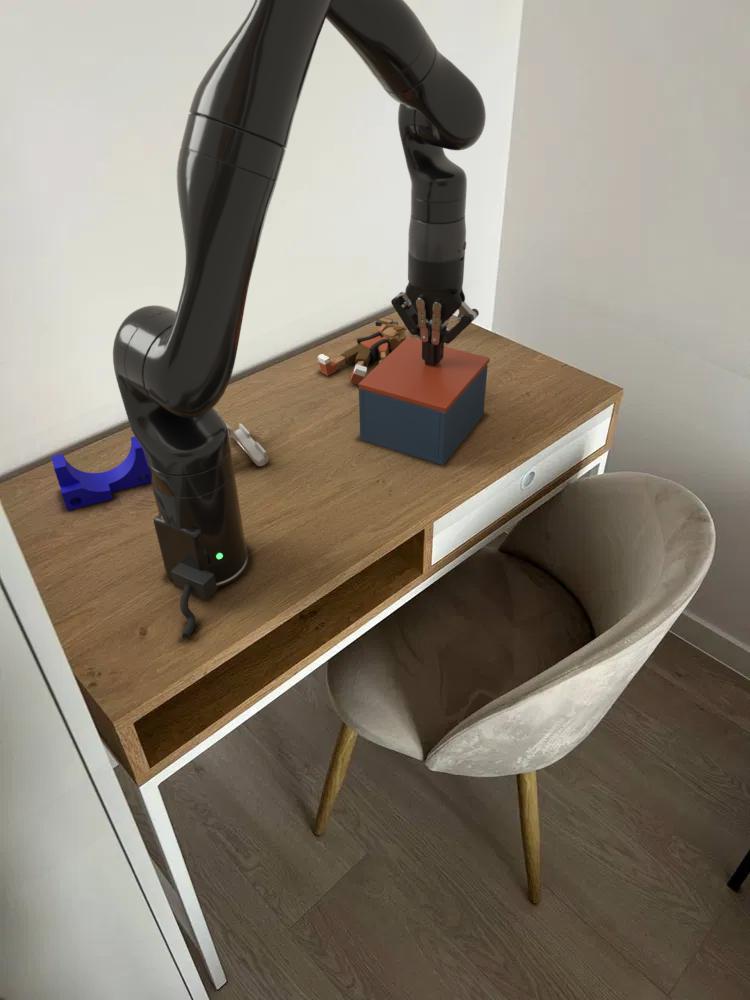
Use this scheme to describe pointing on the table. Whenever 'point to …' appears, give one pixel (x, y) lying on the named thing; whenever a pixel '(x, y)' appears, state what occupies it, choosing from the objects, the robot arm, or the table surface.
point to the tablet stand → (248, 445)
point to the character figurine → (367, 350)
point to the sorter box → (421, 422)
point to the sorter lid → (424, 376)
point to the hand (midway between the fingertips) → (432, 362)
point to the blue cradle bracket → (100, 478)
